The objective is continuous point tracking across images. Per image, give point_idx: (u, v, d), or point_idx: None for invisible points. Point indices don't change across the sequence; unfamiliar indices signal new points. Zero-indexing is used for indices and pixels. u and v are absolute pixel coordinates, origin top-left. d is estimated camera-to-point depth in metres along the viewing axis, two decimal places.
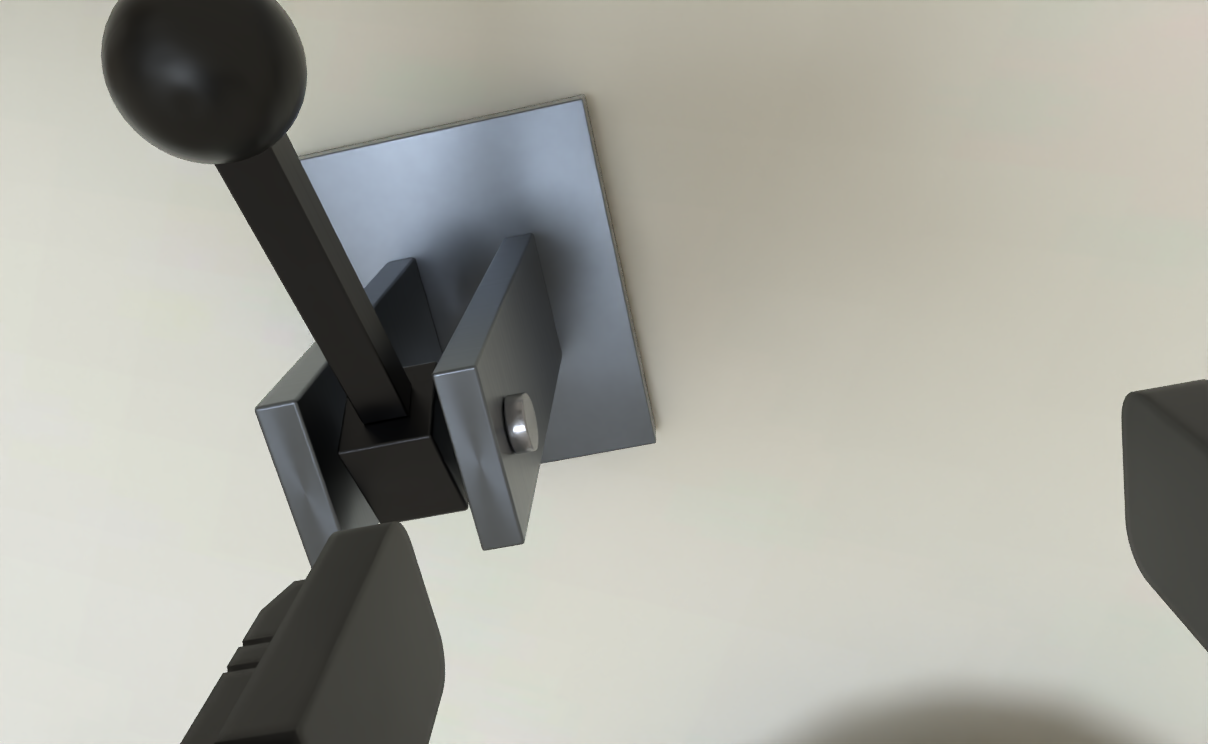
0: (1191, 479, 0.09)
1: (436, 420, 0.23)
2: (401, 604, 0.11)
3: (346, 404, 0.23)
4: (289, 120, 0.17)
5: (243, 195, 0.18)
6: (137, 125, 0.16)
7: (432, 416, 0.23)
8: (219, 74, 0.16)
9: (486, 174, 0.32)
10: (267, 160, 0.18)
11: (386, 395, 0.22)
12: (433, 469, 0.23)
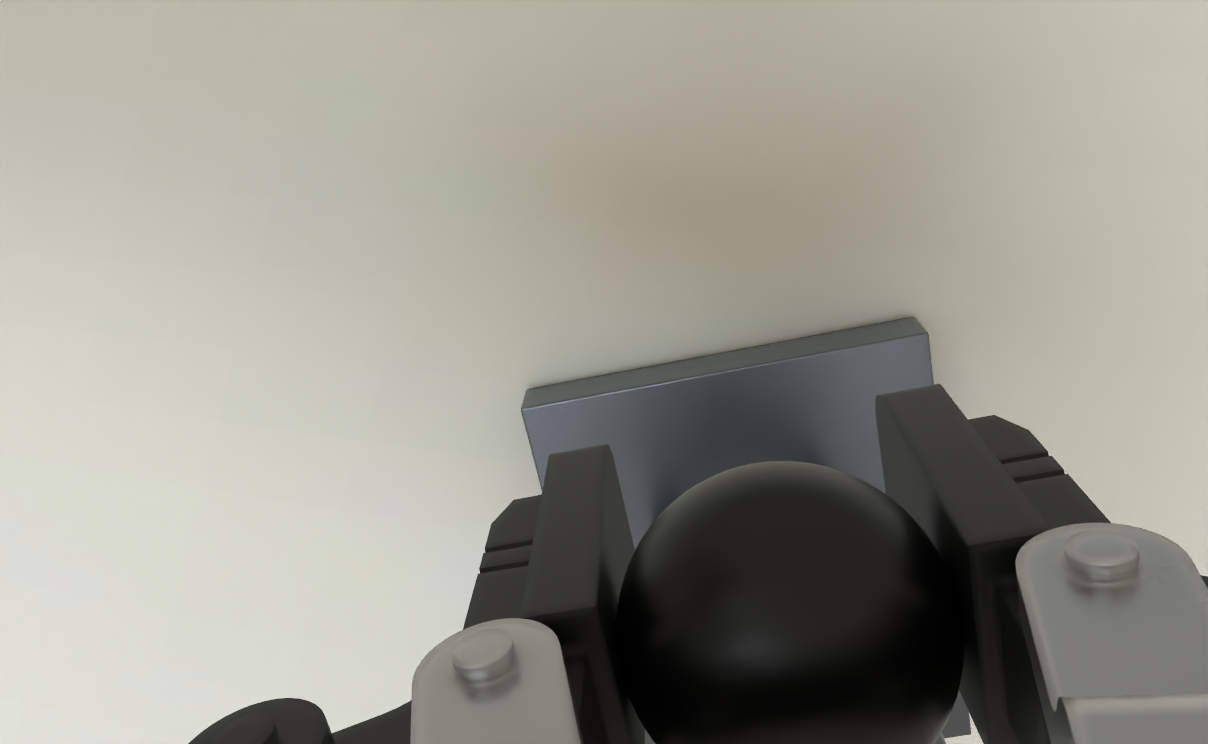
0: (907, 472, 0.11)
1: None
2: (618, 520, 0.12)
3: None
4: None
5: None
6: None
7: None
8: (901, 735, 0.08)
9: (791, 422, 0.25)
10: None
11: None
12: None
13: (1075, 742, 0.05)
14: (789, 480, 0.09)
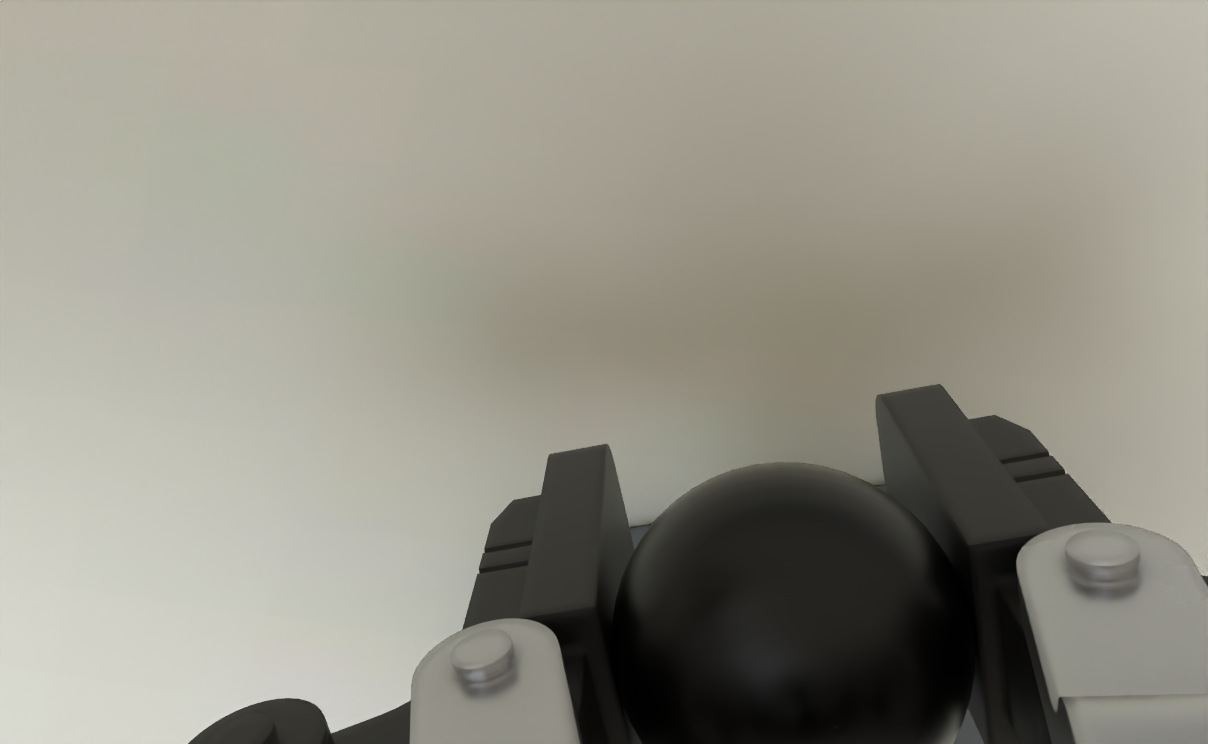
0: (907, 472, 0.11)
1: None
2: (618, 521, 0.12)
3: None
4: None
5: None
6: (681, 722, 0.08)
7: None
8: (887, 622, 0.08)
9: None
10: None
11: None
12: None
13: (1076, 742, 0.05)
14: None
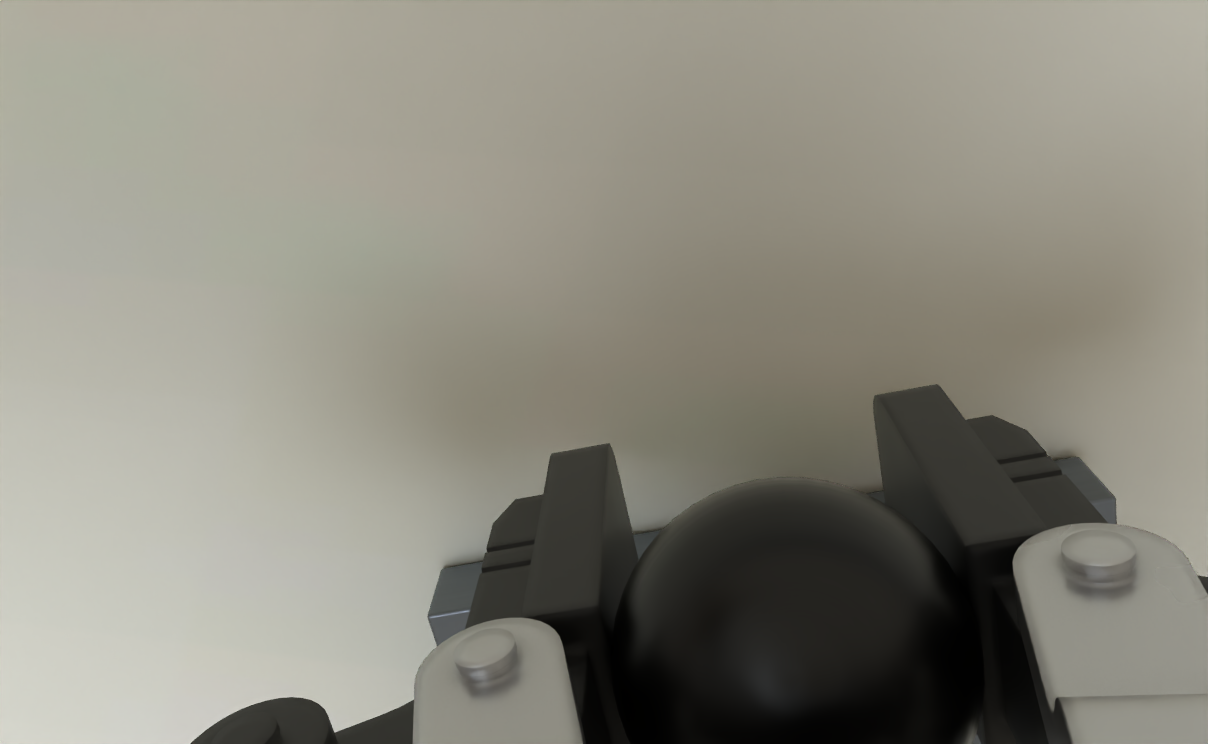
0: (905, 472, 0.11)
1: None
2: (620, 519, 0.12)
3: None
4: None
5: None
6: (676, 709, 0.08)
7: None
8: (884, 599, 0.08)
9: None
10: None
11: None
12: None
13: (1072, 742, 0.05)
14: None
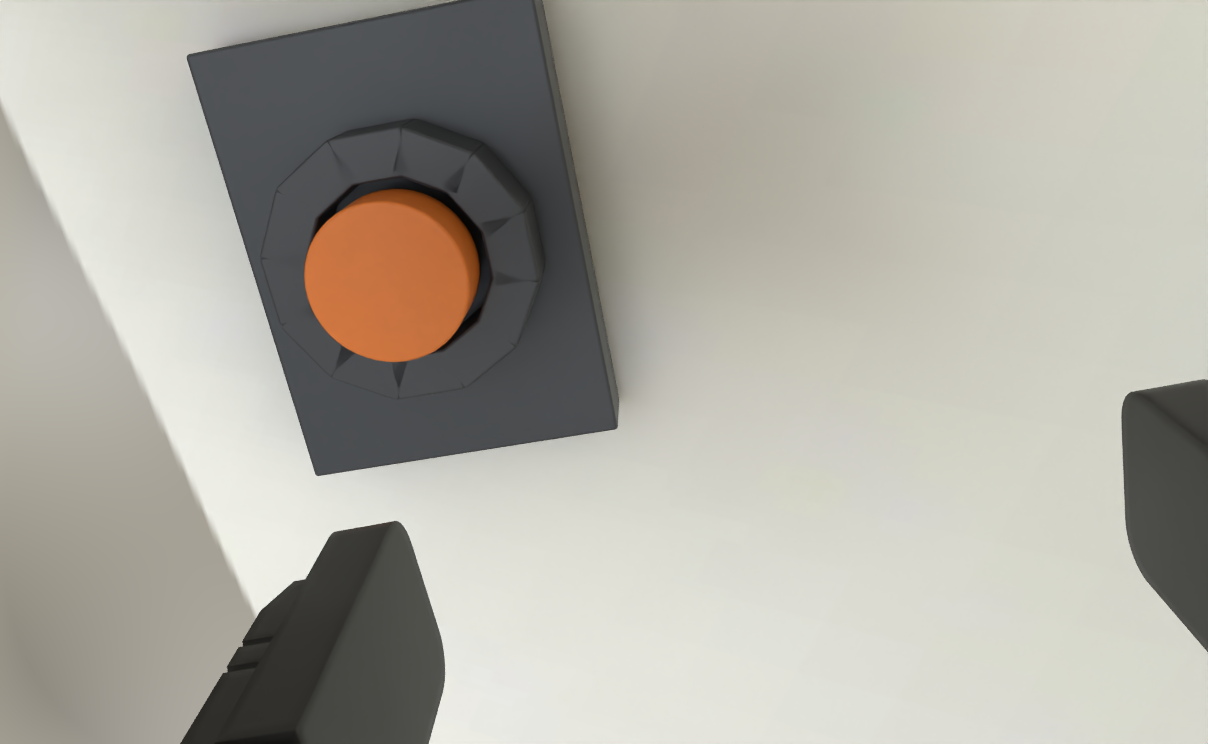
0: (1193, 480, 0.09)
1: None
2: (401, 605, 0.11)
3: None
4: None
5: None
6: None
7: None
8: None
9: None
10: None
11: None
12: None
13: None
14: None
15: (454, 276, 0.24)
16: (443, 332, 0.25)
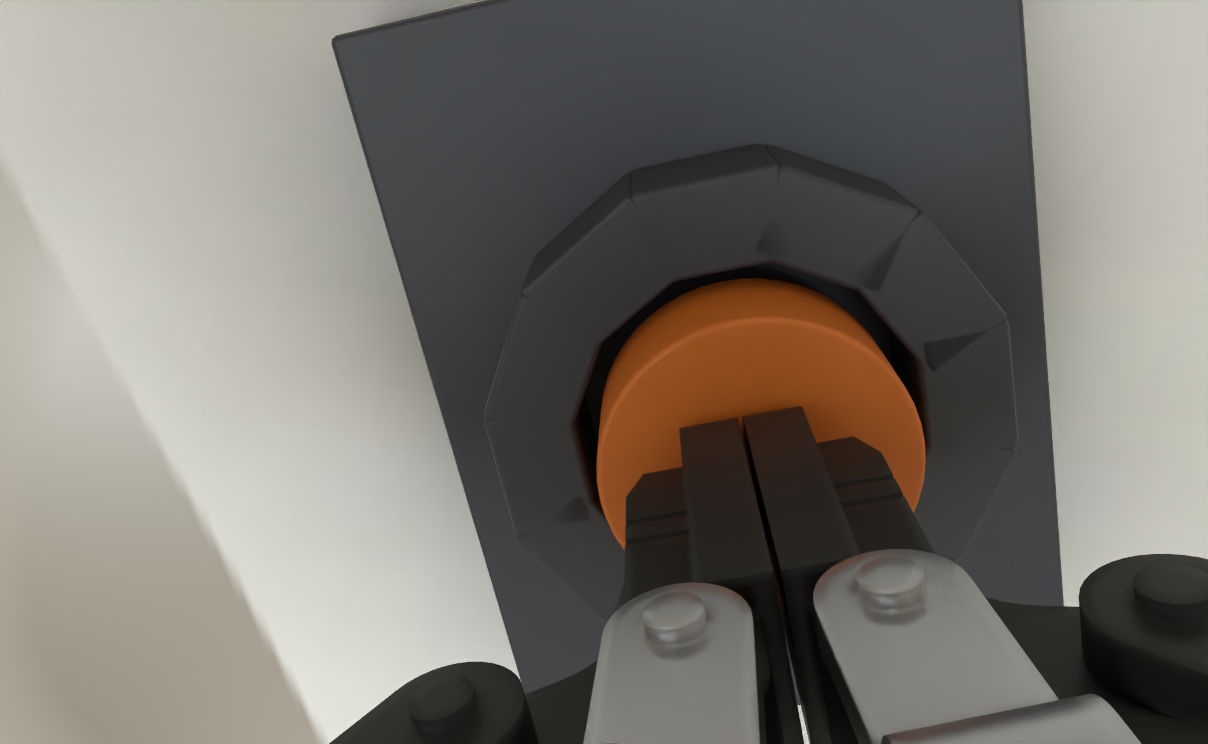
0: (759, 494, 0.11)
1: None
2: None
3: None
4: None
5: None
6: None
7: None
8: None
9: None
10: None
11: None
12: None
13: None
14: None
15: (898, 457, 0.12)
16: None
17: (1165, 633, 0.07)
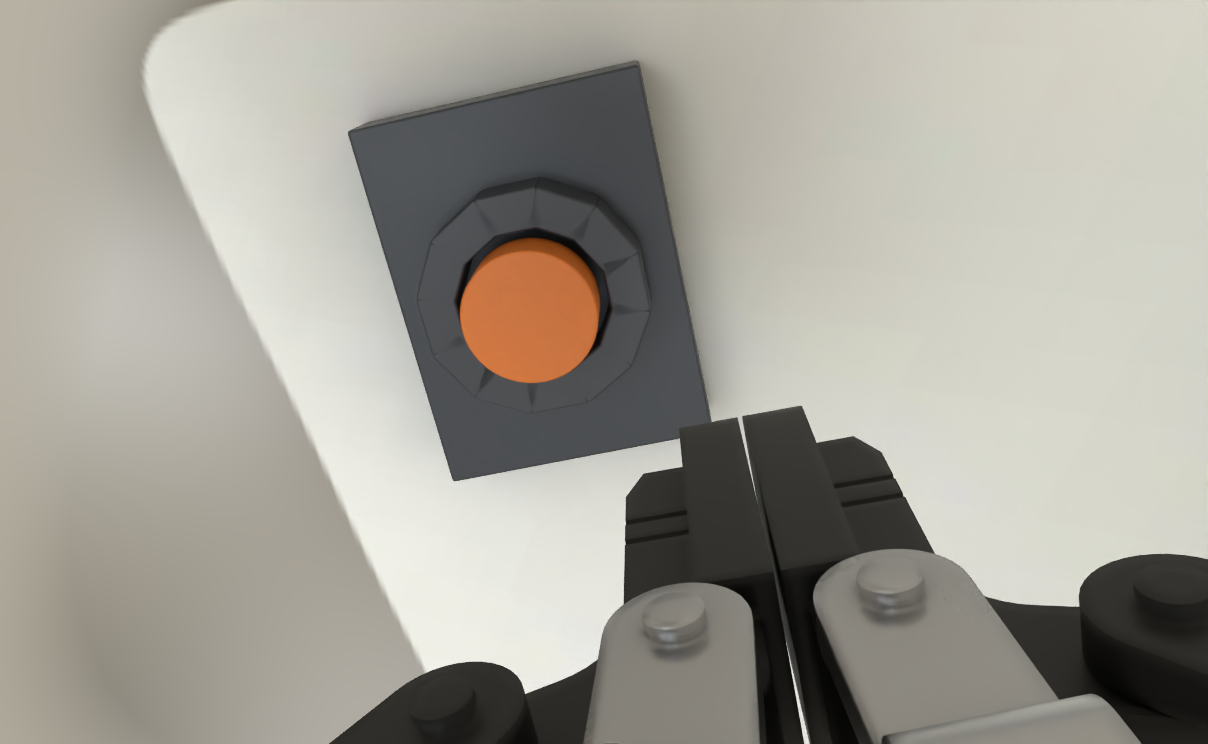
0: (759, 494, 0.11)
1: None
2: None
3: None
4: None
5: None
6: None
7: None
8: None
9: None
10: None
11: None
12: None
13: None
14: None
15: (585, 310, 0.29)
16: (576, 356, 0.29)
17: (1165, 633, 0.07)
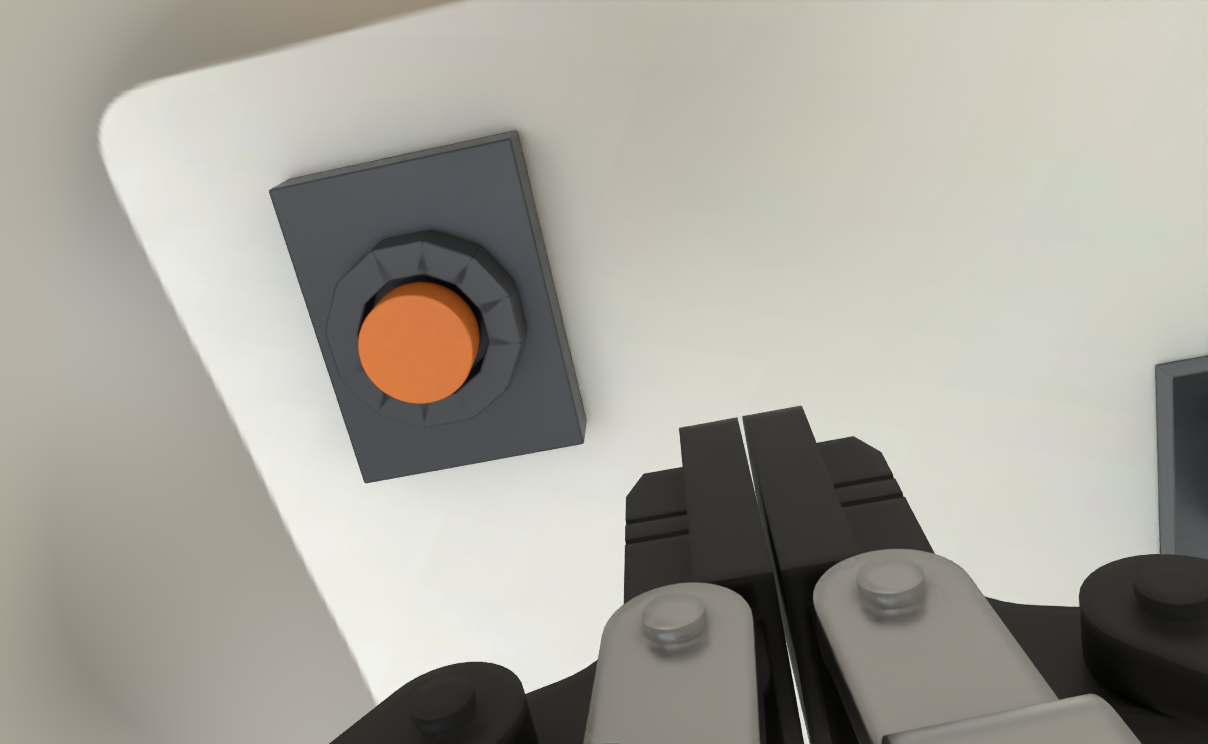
0: (759, 494, 0.11)
1: None
2: None
3: None
4: None
5: None
6: None
7: None
8: None
9: None
10: None
11: None
12: None
13: None
14: None
15: (462, 344, 0.35)
16: (455, 382, 0.35)
17: (1165, 633, 0.07)
